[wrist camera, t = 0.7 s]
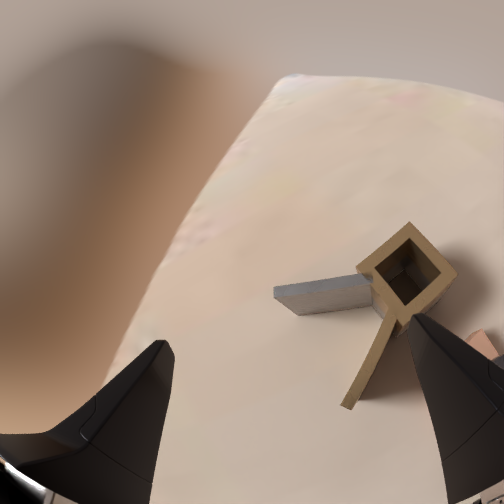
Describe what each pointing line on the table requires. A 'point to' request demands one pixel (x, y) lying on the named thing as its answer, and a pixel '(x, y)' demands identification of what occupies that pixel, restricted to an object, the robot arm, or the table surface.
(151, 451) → the robot arm
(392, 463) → the table surface
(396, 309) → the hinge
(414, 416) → the table surface
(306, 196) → the table surface
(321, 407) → the table surface
